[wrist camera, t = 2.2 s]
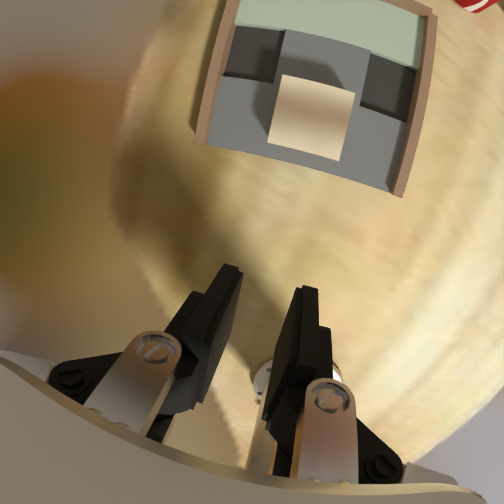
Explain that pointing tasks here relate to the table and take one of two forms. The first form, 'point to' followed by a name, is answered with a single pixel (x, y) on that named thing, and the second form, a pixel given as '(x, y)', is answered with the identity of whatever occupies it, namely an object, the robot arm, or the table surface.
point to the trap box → (324, 79)
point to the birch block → (311, 117)
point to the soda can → (474, 5)
